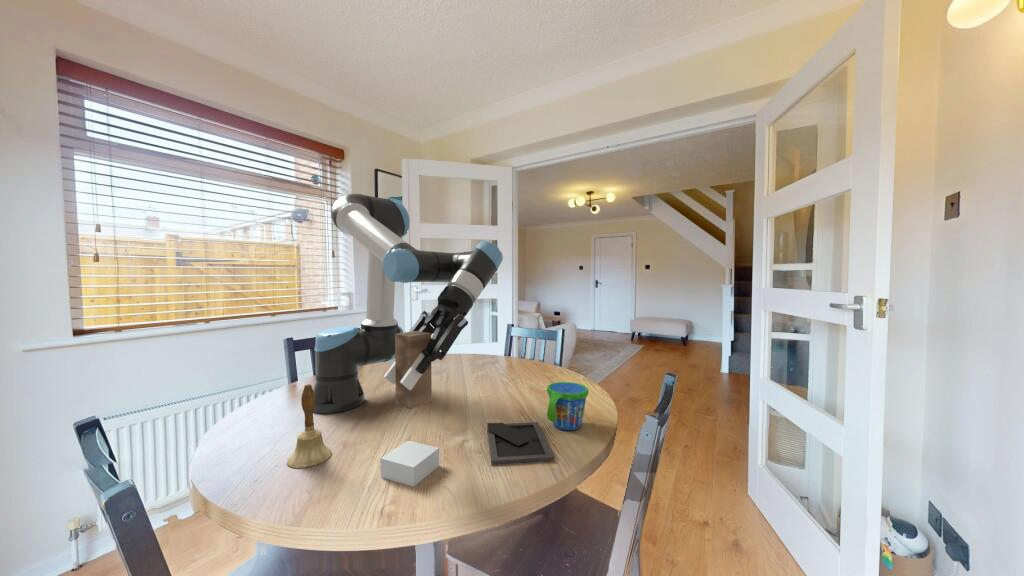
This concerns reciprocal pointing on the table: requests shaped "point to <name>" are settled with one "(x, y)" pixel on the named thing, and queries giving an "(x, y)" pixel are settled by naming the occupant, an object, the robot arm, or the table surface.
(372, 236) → the robot arm
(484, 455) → the table surface
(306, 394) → the hand bell
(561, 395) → the snack cup
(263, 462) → the table surface
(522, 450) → the picture frame
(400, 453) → the white block
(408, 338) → the walnut block
